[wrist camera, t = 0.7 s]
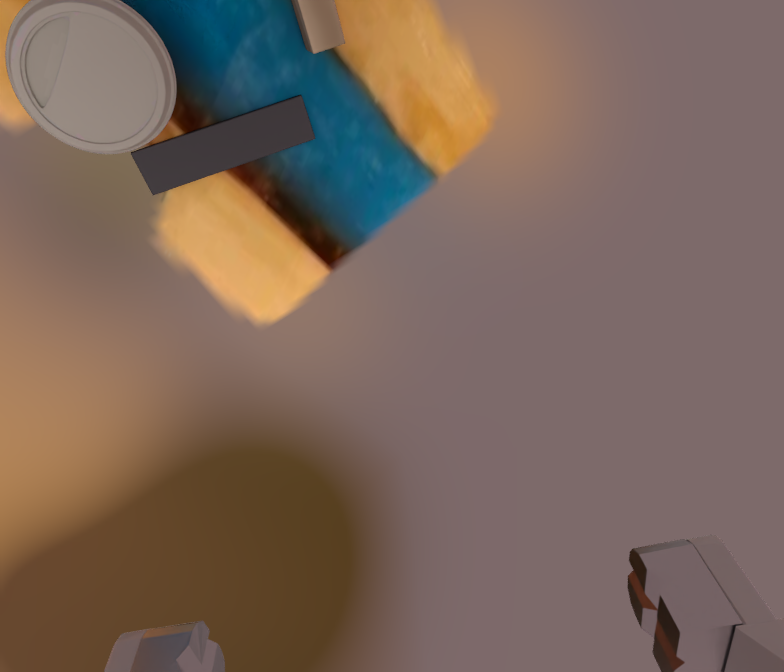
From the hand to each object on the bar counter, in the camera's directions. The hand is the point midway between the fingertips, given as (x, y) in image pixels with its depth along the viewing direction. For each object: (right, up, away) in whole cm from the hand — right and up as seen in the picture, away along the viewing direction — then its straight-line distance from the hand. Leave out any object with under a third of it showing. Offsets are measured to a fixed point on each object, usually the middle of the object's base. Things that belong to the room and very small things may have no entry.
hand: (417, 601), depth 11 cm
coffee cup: (-20, +25, +29) cm, 44 cm away
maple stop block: (-7, +31, +31) cm, 44 cm away
